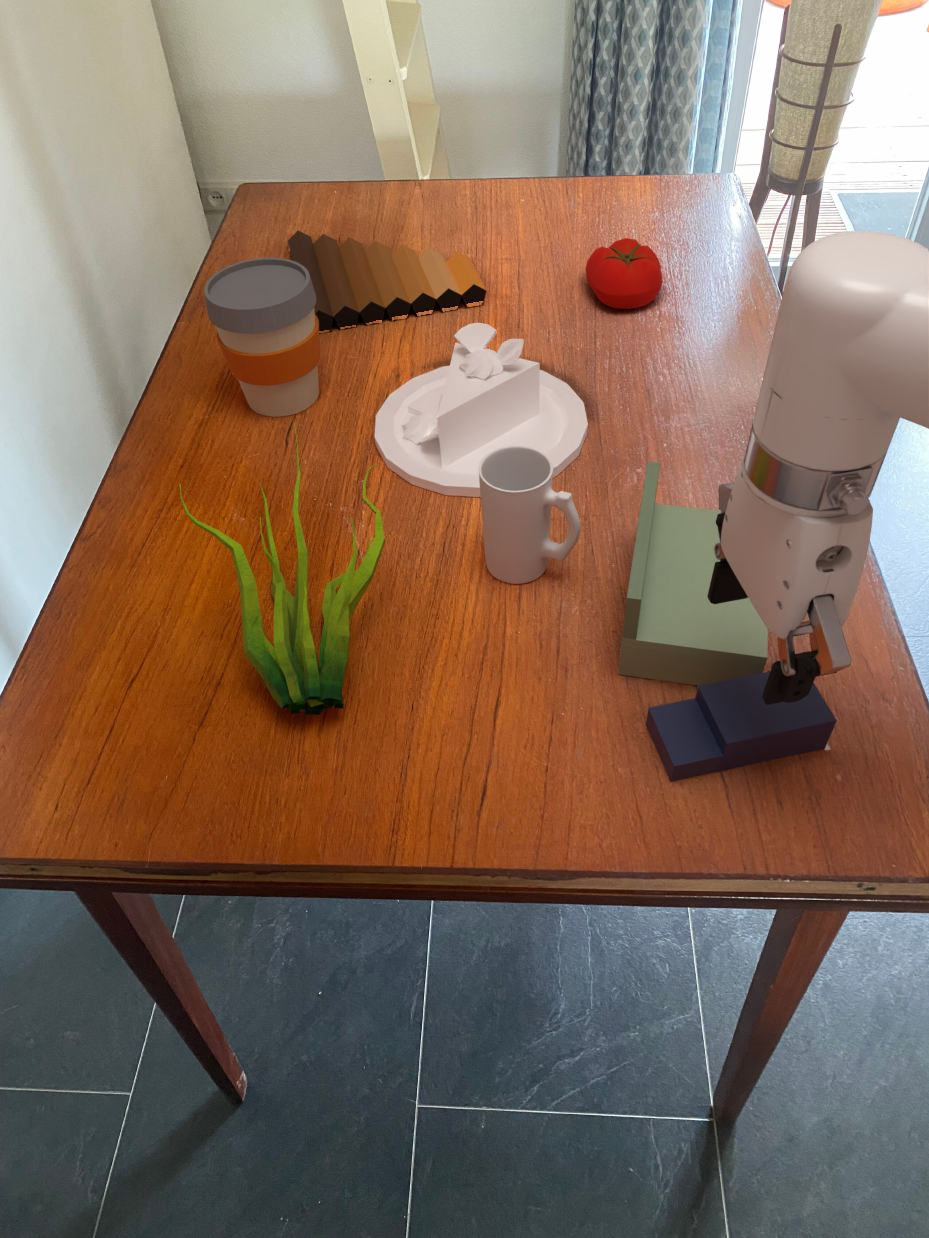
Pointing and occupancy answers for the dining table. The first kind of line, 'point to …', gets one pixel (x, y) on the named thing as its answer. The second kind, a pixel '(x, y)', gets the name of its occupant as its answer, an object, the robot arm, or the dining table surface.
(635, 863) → the dining table surface
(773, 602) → the robot arm
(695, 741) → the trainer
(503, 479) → the mug
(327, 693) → the decorative plant
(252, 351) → the reusable coffee cup
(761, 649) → the sage stepped base
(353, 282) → the pan flute
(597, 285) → the tomato
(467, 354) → the dish
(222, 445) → the dining table surface
